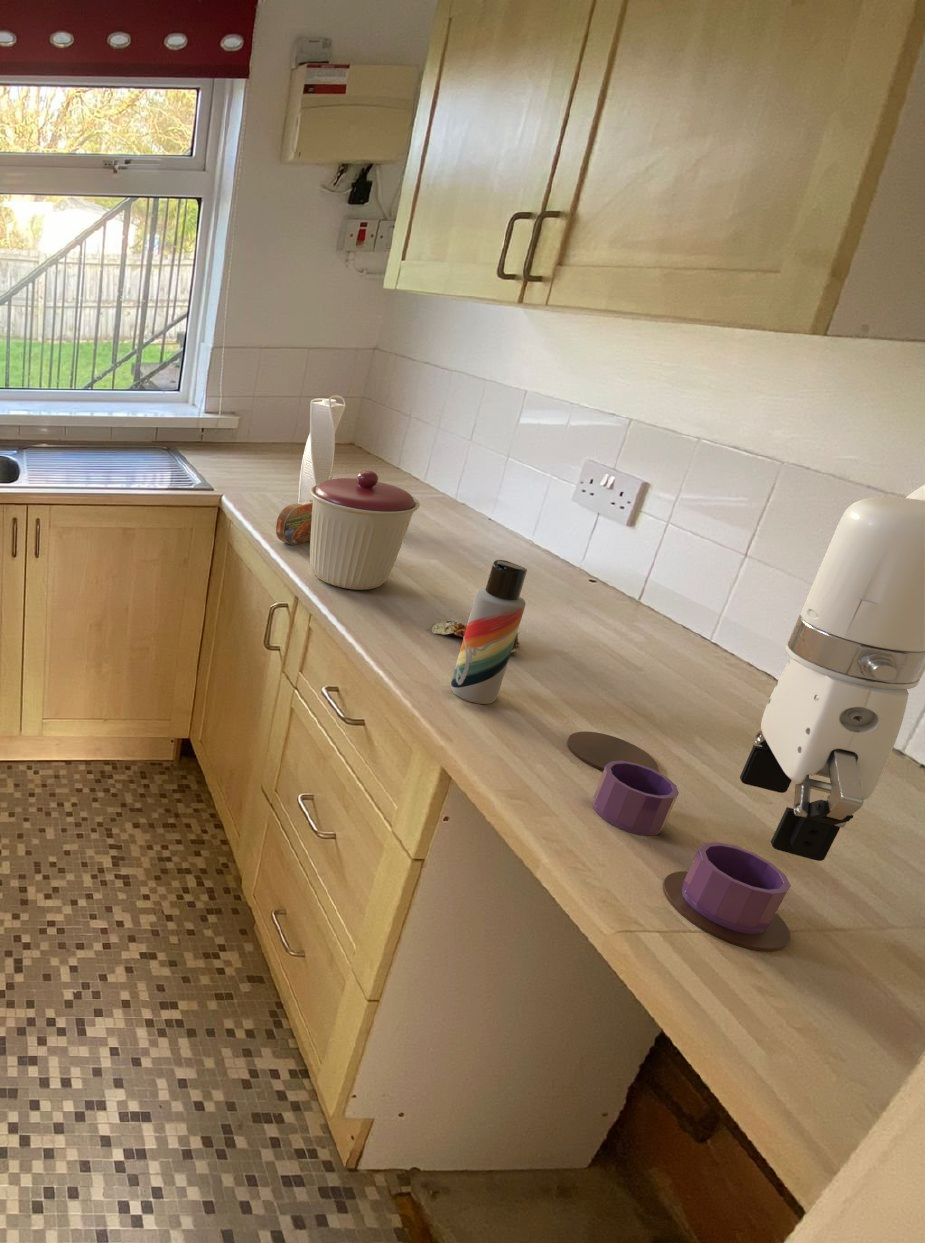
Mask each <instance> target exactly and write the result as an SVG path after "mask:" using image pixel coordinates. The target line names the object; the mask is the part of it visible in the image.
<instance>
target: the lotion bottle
mask: <svg viewBox="0 0 925 1243" xmlns="http://www.w3.org/2000/svg"><path fill="white" fill-rule="evenodd" d="M527 572H528V569H527V568H526V567H523V566H521V565H519V564H516V563H514V562H512V561H508V560H504V559H496V560H494V561H493V563H492V565H491V570H490V573H489V577H488V580H487V582H486V587H485V588H480V589H478V590H477V591H476V593H475V596H474V600H473V603H472V606H471V610H470V613H469V616H468V621H467V623H466V625H467V627H466V631H465V635H464V637H462V638H463V639H462V642H461V645H460V649H459V652H458V656H457V660H456V663H455V667H454V671H453V673H452V678H451V682H450V690H451V692H452V693H453V694H454V695H455V696H457V697H458V698H460V699H462V700H464V701H467V702H470V703H473V704H480V705H489V704H492V703H494V702H495V701H496V700H497V698H498V695H499V692H500V689H501V686H502V683H503V679H504V677H505V673H506V670H507V666H508V663H509V660H510V657H511V655H512V654H511V653H512V652H511V651H512V648H513V644H514V641H515V638H516V635H517V632H518V631H519V628H520V624H521V622H522V618H523V615H524V612H525V608H526V600H525V599H524V598H523V597H521V593H522V589H523V587H524V582H525V580H526V576H527Z"/></svg>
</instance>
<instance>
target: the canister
mask: <svg viewBox="0 0 925 1243" xmlns="http://www.w3.org/2000/svg"><path fill="white" fill-rule="evenodd" d="M310 493H311V495H312V496H313V506H312V522H311V539H310V541H309V542H310V543H309V565H310V568H311V571H312V573H313V574H314V576H315V577H317V578H318V580H321V581H322V582H324V583H326V584H329V585H332V586H334V587H338V588H342V589H347V590H359V591H364V590H365V591H366V590H373V589H375V588H379V587H380V586H382V585H383V584H384V583H385V582H386V581H387V580H388V579H389V577H390V574H391V573H392V571H393V568H394V566H395V563H396V560H397V558H398V555H399V553H400V549H401V548H402V544H403V542H404V539H405V536H406V533H407V530H408V529H409V526H410V523H411V520H412V518H413V515H414V512H416V511H417V510H418V509H419V508H420V506H421V504H420V502H419V500H418V499H417V498H415V497H414V496H412V494H410V492H408V491H406V490H405V489H403V488H400V487H398V486H397V485H392V484H389V483H386V482H381V481H379V476H378V474H377V473H376V472H374V471H373V470H362V471H360V472H358V473H357V475H356V478H350V477H347V478H346V477H345V478H343V477H341V478H332V480H327V481H324V482H322V483H320V484H317V485H314V486H313V487H312V488H311V489H310Z"/></svg>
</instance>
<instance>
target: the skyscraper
mask: <svg viewBox="0 0 925 1243" xmlns="http://www.w3.org/2000/svg"><path fill="white" fill-rule="evenodd" d="M334 398H337V399H341V401H342V402H343V404H342V403H338V402H337V400H336V399H334ZM346 406H347V404H346V401H345V398H344V397H343V396H342V395H340V394H339V395H338V394H334V395H333V394H332V395H331V396H329V397H328V398H325V397H316V398H312V399H311V400H310V406H309V407H310V410H309V434H308V436H307V439H306V444H305V447H304V451H303V455H302V460H301V465H300V466H301V467H300V473H299V486H298V502H297V503H300V502H304V501H309V500H313V496H312V495H311V493H310V489H311V488H312V487H313V486H314V485H317V484H320V483H322V482H324V481H327V480H332V479H334V476H333V474H332V473H333V469H334V461H335V451H336V435H335V434H336V432H337V429H338V427H339V424H340V422H341V419H342V417H343V414H344V411H345V409H346Z"/></svg>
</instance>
